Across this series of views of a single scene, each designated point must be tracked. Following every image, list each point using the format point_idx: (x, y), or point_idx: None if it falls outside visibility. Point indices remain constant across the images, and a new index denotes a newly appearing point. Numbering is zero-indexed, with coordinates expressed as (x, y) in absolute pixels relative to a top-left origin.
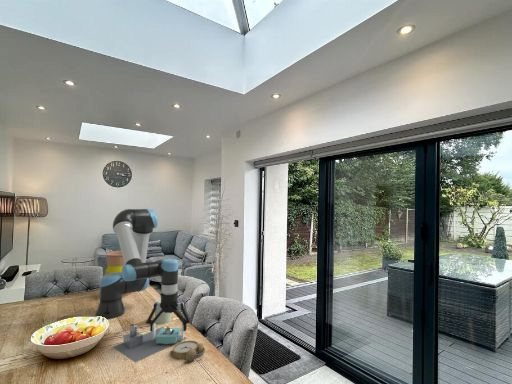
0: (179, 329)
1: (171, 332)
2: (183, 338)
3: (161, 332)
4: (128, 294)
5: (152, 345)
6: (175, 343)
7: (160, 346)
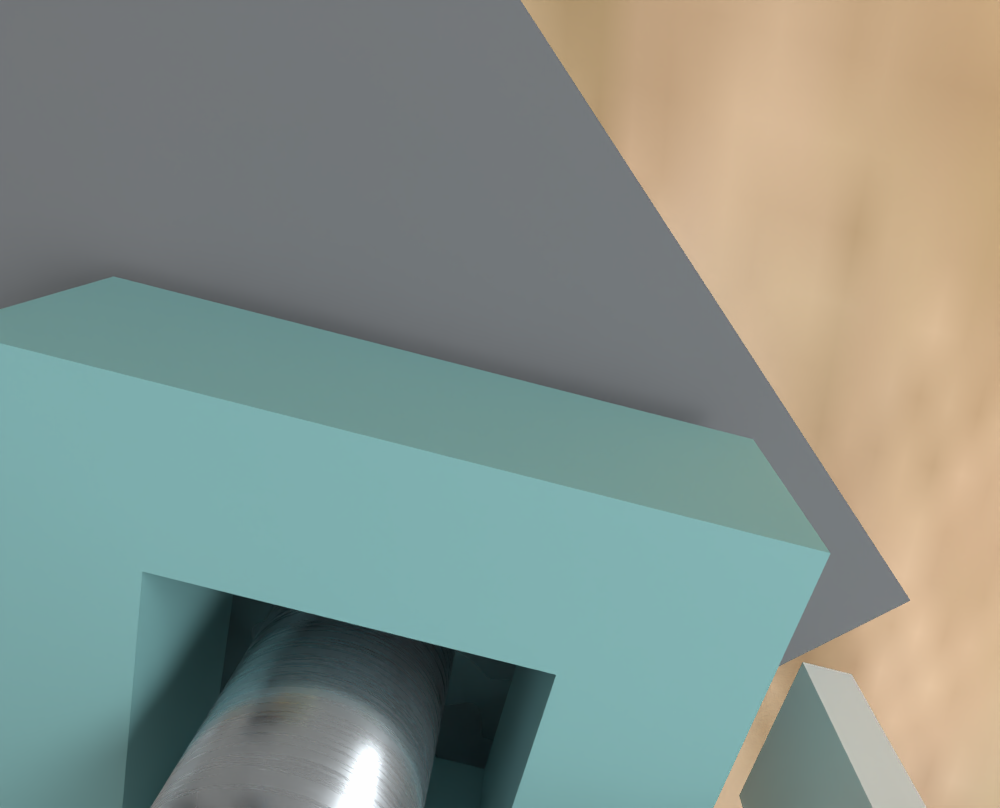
0: (759, 693)
1: (427, 790)
2: None
3: (45, 731)
4: None
5: None
6: None
7: None
